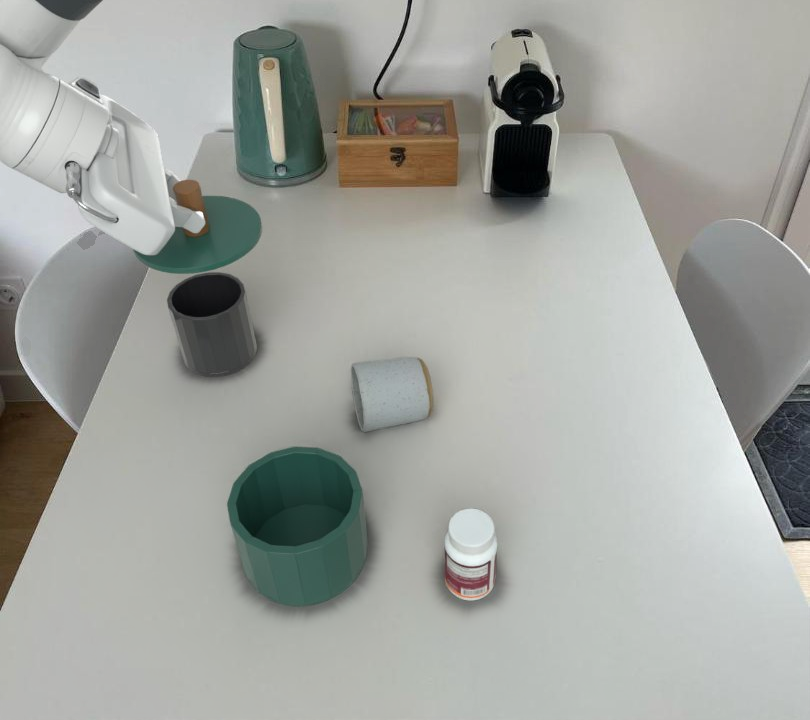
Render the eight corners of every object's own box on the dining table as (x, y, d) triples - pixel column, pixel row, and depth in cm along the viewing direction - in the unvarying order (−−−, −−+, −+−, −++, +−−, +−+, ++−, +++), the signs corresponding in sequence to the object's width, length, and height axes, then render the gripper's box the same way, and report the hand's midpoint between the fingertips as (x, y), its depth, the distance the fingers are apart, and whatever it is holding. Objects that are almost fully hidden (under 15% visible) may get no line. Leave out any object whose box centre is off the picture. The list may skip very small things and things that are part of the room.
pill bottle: (461, 549, 78) (462, 495, 73) (504, 573, 76) (509, 520, 71) (434, 585, 76) (433, 532, 70) (477, 611, 74) (480, 559, 68)
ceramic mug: (437, 431, 90) (436, 380, 85) (365, 446, 88) (360, 396, 83) (412, 369, 98) (410, 319, 92) (345, 382, 96) (340, 333, 91)
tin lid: (138, 290, 77) (120, 235, 73) (130, 219, 86) (114, 166, 82) (273, 263, 79) (264, 207, 75) (252, 196, 89) (242, 144, 84)
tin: (254, 622, 74) (238, 569, 68) (235, 519, 82) (219, 464, 76) (381, 585, 76) (376, 531, 70) (350, 488, 84) (343, 434, 79)
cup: (188, 384, 97) (170, 326, 91) (180, 337, 103) (164, 280, 97) (262, 367, 99) (250, 309, 92) (250, 322, 105) (238, 265, 99)
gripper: (87, 169, 64) (232, 247, 72) (82, 68, 78) (204, 143, 87) (47, 228, 66) (192, 297, 75) (49, 119, 80) (171, 187, 89)
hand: (199, 213), depth 81 cm, fingers closed on tin lid, 2 cm apart
